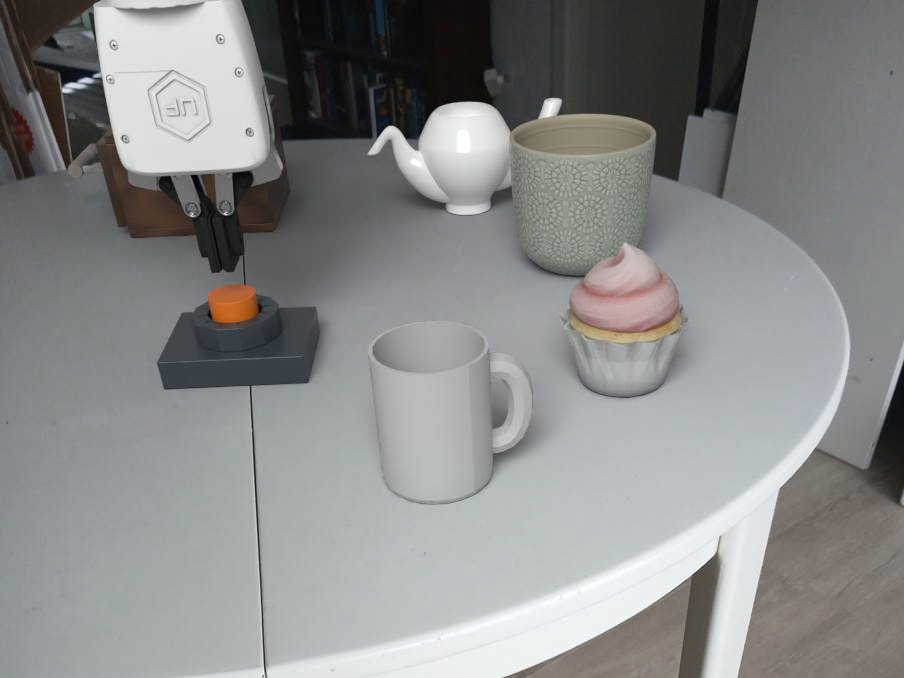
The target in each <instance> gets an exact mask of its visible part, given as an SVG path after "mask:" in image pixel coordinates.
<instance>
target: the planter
mask: <svg viewBox="0 0 904 678" xmlns="http://www.w3.org/2000/svg"><path fill="white" fill-rule="evenodd" d="M656 144H657V132H656V129H655V128H654V127H653V126H652V125H651V124H649V123H647V122H645V121H642V120H639V119H637V118H632V117H629V116H623V115H616V114H607V113H606V114H605V113H571V114H570V113H569V114H568V113H567V114H560V115H559V114H558V115H557V116H551V117H545V118H541V119H538V118H537V119H532V120H530V121H527V122H525V123H522V124H520V125H518V126H516V127H515V128H514V129H512V130H511V133H510V135H509V156H510V173H511V185H512V186H511V194H512V204H513V213H514V214H513V215H514V221H515V228H516V235H517V238H518V242H519V245H520V247H521V248H522V251H523V252H524V253H525V255H526V256H527V257H528V258H529V259H530V261H532V262H534V263H535V264H536V265H538V266H539V267H541V268H542V269H544V270H546V271H548V272H551V273H554V274H558V275H564V276H574V277H575V276H576V277H579V276H580V277H581V276H586V274H587V273H588V272H589V271H590V270H591V269H592V268H593V267H594V266H595V265H596V264H598V263H599V262H600V261H602V260H604V259H606V258H609V257H614V256H618V253H619V250H620V249H621V247H622V245H623V243H628V244H630V245H632V246H634V247H637V248H638V246H639V244H640V241H641V239H642V236H643V232H644V227H645V224H646V223H645V222H646V218H647V212H648V206H649V201H650V192H651V186H652V180H653V173H654V165H655V156H656V147H657V146H656Z"/></svg>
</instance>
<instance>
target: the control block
mask: <svg viewBox="0 0 904 678" xmlns="http://www.w3.org/2000/svg"><path fill="white" fill-rule="evenodd" d="M256 297H257V302H258V307H259V314H258V315H256V316H255V317H253V318H251V319H248V320H244V321H241V322H229V323H221V322H217V321H213V319H212V315H211V311H210V307H209V302H208V300H207V301H205V302H204V303H202V304H200V305H199V306H196V307H195V308H194V311H185V312H181V313H180V316H179V317H178V319H177V322H176V324H175V325H174V328H173V329H172V331H171V334H170V336H169V337H168V340H167V341H166V343H165V345H164V347H163V349H162V351H161V353H160V354H159V357H158V359H157V361H156V365H157V369H158V372H159V376H160V380H161V383H162V386H163V390H172V389H195V388H218V387H219V388H220V387H239V386H240V387H241V386H266V385H286V384H307V383H308V382H309V379H310V375H311V369H312V366H313V362H314V358H315V354H316V349H317V345H318V341H319V337H320V333H321V329H320V328H321V327H320V323H319V316H318V315H319V314H318V310H317V306H297V307H296V306H295V307H280V305H279V304H278V303H277V302H276V300H274V299H273V298H272V297H271V296H267V295H263V294H257V293H256Z"/></svg>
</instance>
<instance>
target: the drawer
mask: <svg viewBox="0 0 904 678" xmlns="http://www.w3.org/2000/svg"><path fill="white" fill-rule="evenodd" d="M98 159H99V162H100V164H95V163H96V161H97V160H98ZM67 173H68V174H69V175H70V176H71V177H72V178H74V179H76V180H77V179H81V178H82V177H83V175H85V174H98V173H102V174H103V177H104V181H105V184H106V187H107V193H108V195H109V198H110V199H109V200H110V202H111V206H112V210H113V213H114V217H115V220H116V224H117V227H118V228H128V224H127V221H126V217H125V213H124V209H123V206H122V202H121V198H120V195H119V191H118V187H117V184H116V180H115V176H114V173H113V169H112V165H111V161H110V158H109V154H108V150H107V147H106V143H105V139H104V135H102V136H101V138H100V139H99V140H98V141H97V142H96V143H90V144H88V145H87V146H86V147H85V148H84V149H83V150H82V151H81V152H80V153H79V155H78V156H77V157H75V159H74V160H73V161H72V162H71V163H70V164H69V165H68V167H67Z"/></svg>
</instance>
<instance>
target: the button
mask: <svg viewBox="0 0 904 678" xmlns="http://www.w3.org/2000/svg"><path fill="white" fill-rule="evenodd" d="M256 294H257V292H256V289H255V288H254V287H253V286H251V285H246V284H228V285H223V286H219V287H217V288H214V289H212V290H211V291H210V292H209V293H208V294H207V301H208V302H209V307H210V311H211V315H212V319H213V321H217V322H221V323H229V322H241V321H244V320H248V319H251V318H253V317H255V316H256V315H258V314H259V307H258V302H257V297H256Z"/></svg>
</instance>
